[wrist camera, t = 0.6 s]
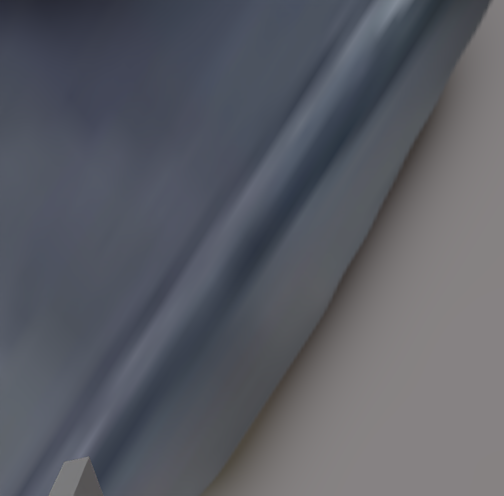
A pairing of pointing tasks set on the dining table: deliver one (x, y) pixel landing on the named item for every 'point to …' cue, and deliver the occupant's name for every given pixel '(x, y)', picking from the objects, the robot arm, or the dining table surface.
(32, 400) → the dining table surface
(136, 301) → the dining table surface
